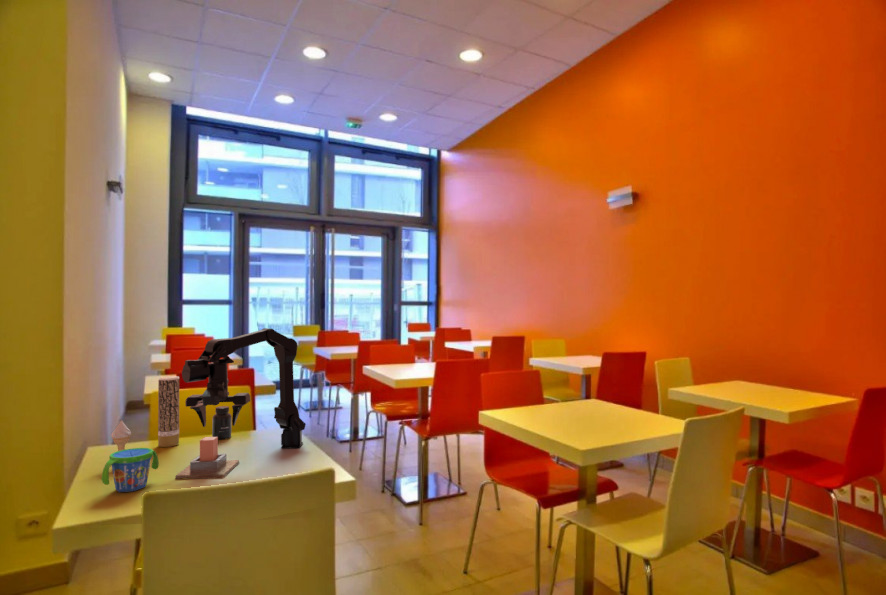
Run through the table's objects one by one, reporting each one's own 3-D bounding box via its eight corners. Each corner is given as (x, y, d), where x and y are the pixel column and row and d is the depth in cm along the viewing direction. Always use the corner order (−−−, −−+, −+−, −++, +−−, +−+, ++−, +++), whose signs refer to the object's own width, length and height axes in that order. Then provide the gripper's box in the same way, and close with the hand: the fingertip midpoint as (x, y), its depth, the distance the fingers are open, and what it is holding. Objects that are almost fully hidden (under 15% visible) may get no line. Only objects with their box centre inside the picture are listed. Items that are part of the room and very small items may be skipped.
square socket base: (239, 463, 167) (239, 450, 167) (223, 477, 153) (223, 464, 153) (194, 464, 166) (194, 451, 166) (175, 478, 152) (175, 465, 152)
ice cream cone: (109, 469, 160) (110, 422, 160) (111, 465, 165) (112, 418, 165) (130, 467, 163) (130, 420, 163) (132, 462, 168) (132, 416, 168)
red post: (217, 465, 161) (217, 436, 161) (213, 469, 157) (213, 440, 157) (204, 465, 161) (204, 437, 161) (199, 469, 157) (199, 440, 157)
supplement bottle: (224, 440, 194) (224, 409, 194) (208, 439, 196) (208, 408, 196) (235, 436, 201) (235, 405, 201) (219, 435, 202) (219, 405, 202)
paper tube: (182, 444, 189) (183, 377, 190) (164, 448, 183) (164, 379, 184) (172, 441, 193) (172, 375, 193) (154, 446, 187) (154, 378, 187)
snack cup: (147, 477, 153) (147, 443, 154) (169, 482, 148) (169, 447, 148) (91, 494, 140) (91, 457, 140) (113, 501, 135) (113, 462, 135)
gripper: (177, 383, 157) (178, 433, 157) (239, 381, 158) (240, 431, 158) (192, 377, 168) (193, 424, 168) (250, 375, 169) (251, 422, 169)
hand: (219, 426), depth 166 cm, fingers open, 9 cm apart
